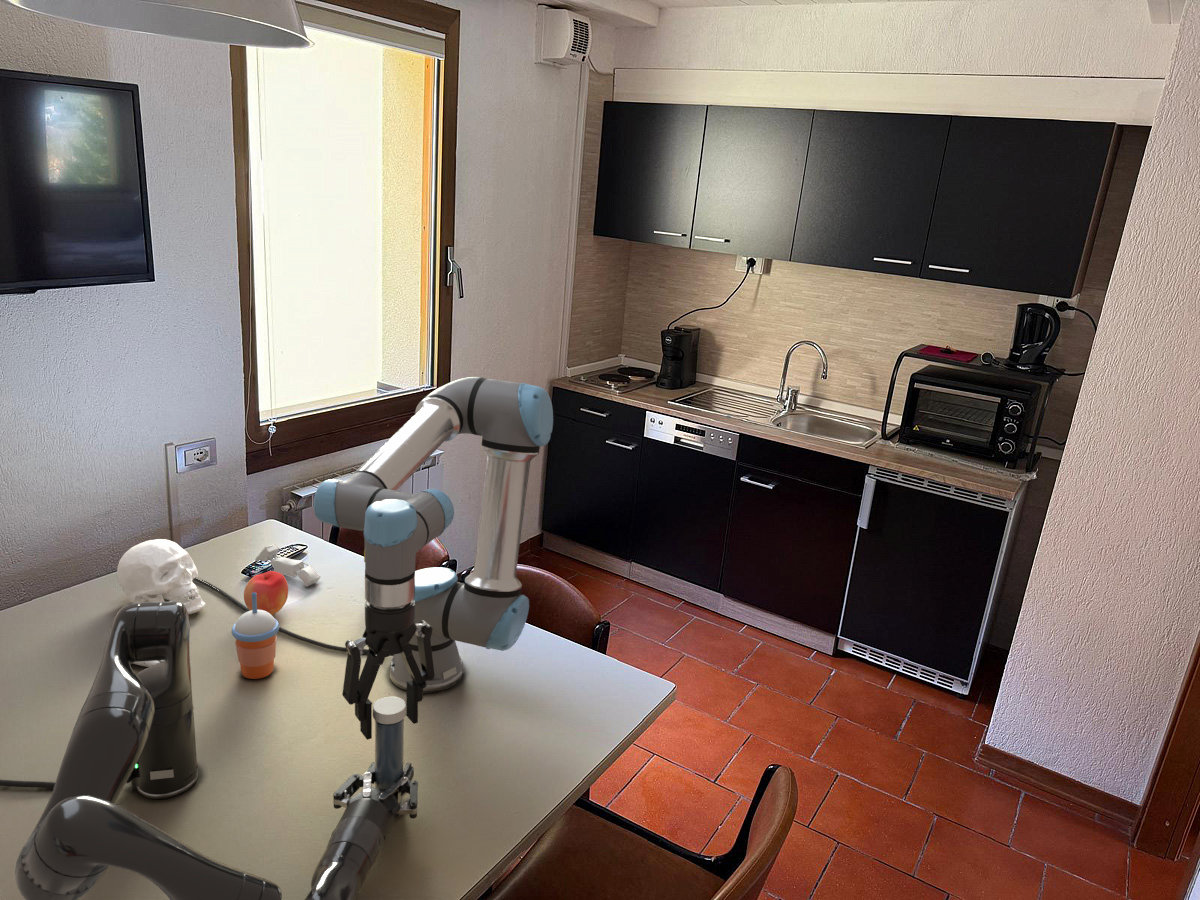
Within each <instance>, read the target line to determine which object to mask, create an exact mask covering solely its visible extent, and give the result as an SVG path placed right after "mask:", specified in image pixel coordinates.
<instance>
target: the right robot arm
mask: <svg viewBox="0 0 1200 900" xmlns="http://www.w3.org/2000/svg"><path fill="white" fill-rule="evenodd" d="M553 427H554V409H553V403H552V400H551V397H550V395H549V393H548V391H547V390H545V388H543V387H541V386H538V385H533V384H529V383H526V382H515V381H508V380H501V379H494V378H493V379H492V378H485V377H482V376H467V377H463V378H458V379H456V380H453V381H450V382H448V383H446V384H444V385H441V386H439V387H438V388H436V389H435V390H433V391H432V392H430V393H429V394H427V395H426V396H424V398H423V399H422V400H421V401H419V403H418V404H417V406H416V408H415V411H414V415H413V416H411V417H410V419H409V420H407V421H406V422H405V423H404V424H403V425H402V426H401V427H400V428H399V429H398V430H397V431H396V432H395V433H394V434H393V435H392V436H390V438H388V439H387V440H386V442H384V443H383V445H381V446H380V447H379V448H378V449H377V450H376V451H374V453H373V454H372V455H370V457H368V458H367V459H366V460H365V462H364V463H362V464H361V465H360V466H359V467H358V468H357V469H356V470H355V471H354V472H353V473H352V474H351V475H350V476H348V478H347V479H346V480H342V479H340V478H337V479H333V478H329V479H325V480H324V481H322V482H321V483H320V484H319V486H318V488H317V489H316V491H315V493H314V497H313V503H312V504H313V510H314V515H315V517H316V519H317V520H318V521H320V522H321V523H324V524H327V525H331V526H334V527H337V528H343V529H348V530H354V531H359V532H362V533H363V539H364V550H365V562H364V599H365V601H364V624H365V625H364V626H365V627H364V628H365V629H364V632H363V634H362V637H361V638H358V639H356V640H354V641H353V640H352V639H348V640H346V641H345V643H344V646H345V647H344V646H337V645H334V644H333V645H332V644H328V643H325V642H321V641H318V640H315V639H312V638H308V637H305V636H303V635H299V634H297V633H294V632H292V631H290V630H287V629H285V628H283V627H280V626H279V630H278V632H279V633H282V634H284V635H286V636H288V637H290V638H293V639H295V640H298V641H301V642H304V643H307V644H311V645H314V646H316V647H320V648H324V649H326V650H327V649H328V650H332V651H337V652H343V653H347V654H346V655H347V656H346V662H345V663H346V664H345V670H344V678H343V686H342V697H343V698H344V699H345V701H346V702H347V703H348V705H350V706H351V705H354V715H355V717H356V719H357V720H358V721H359V727H360V728H359V731H360V732H361V734H362V735H363V737H364V738H365V739H366V740H371V739H373V721H372V720H373V703H372V701H371V700H370V699H369V697H370V694H371V691H372V689H373V685H374V683H375V680H376V678H377V674H378V672H379V669H380V667H381V666H382V665H384V662H385V659H386V658H388V657H392V659H391V660H390V664H389V679H390V681H391V682H392V683H393V684H394V685H395V686H396V687H398V688H399V689H401V690H404V691H406V701H405V703H406V715H405V717H407V719H409V721H410V722H411V723H412V724H413V725H415V724H418V723H419V703H420V702H422V701H423V699H424V694H430V693H431V694H432V693H438V692H441V691H445V690H447V689H450V688H451V687H453V686H455V685H456V684H457V683H458V682H459V681H460V680H461V679H462V676H463V672H464V662H463V660H462V657H461V656H460V653H459V649H458V646H457V642H460V643H464V644H469V645H473V646H476V647H481V648H485V649H486V650H496V651H503V652H504V651H508V650H509V649H511V648H512V647H513V646H514V645H515V644H516V643H517V641H518V640H519V638H520V636H521V635H522V632H523V630H524V628H525V626H526V623H527V619H528V615H529V610H530V599H529V598H528V596H526V595H525V594H522V587H523V584H522V582H521V581H520V579H519V578H518V577H517V569H518V562H519V561H518V560H519V553H520V545H521V536H522V529H523V523H524V522H523V520H524V514H525V506H526V499H527V490H528V482H529V475H530V468H531V461H532V460H533V459H534V458H535V457H537V456H538V455H539V454H540V449H541V447H544V446H547V445H548V444H549V442H550V440H551V438H552V437H551V436H552V435H551V434H552V433H553V430H554V429H553ZM460 434H461V435H462V434H463V435H465V434H466V435H468V434H469V435H474V436H479V437H482V438H481V444H480V445H481V448H482V449H483V451H484V452H485V454H486V455H487V459H486V466H485V474H484V475H485V476H484V483H483V484H484V485H483V491H482V500H481V509H480V514H479V516H480V517H479V522H478V523H479V524H478V531H477V541H476V548H475V557H474V564H473V571H472V572H471V573H469V574H468V575H467V576H466V577H465V578H464V582H460V581H458V580H459V579H458V578H459V577H458V575H457V572H456V571H454V570H453V569H451V568H448V567H441V566H440V567H437V566H433V567H426V568H421V569H418V570H416V557H417V553H418V552H419V551H420V550H421V549H423V548H424V547H425V546H426V545H428V544H429V543H431V542H432V541H433V540H435V539H436V538H438V537H440V536H441V535H442V534H443V533H444V532H445V530H447V528H448V527H449V526H450V525H451V524H452V523H453V520H454V517H455V508H454V504H453V502H452V500H451V498H450V497H449V496H448V494H446V493H445V492H444V491H442V490H440V489H437V488H427V489H424V490H420V491H418V492H417V493H411V492H405V491H399V490H400V489H401V488H402V487H403V486H404V485H405V484H406V482H408V481H409V480H410V478H412V476H413V475H414V474H415V473H416V472H417V471H418V470H419V469H420V468H421V467H422V466H423V465H424V463H425V462H427V460H428V459H429V458H430V457H431V456H432V455H433V454H434V453H435V452H436V451H437V450H438V448H440V447H441V446H442V444H444V443H445V442H450V441H452V440H454V439H455V438H456V437H457V436H458V435H460ZM203 580H204V579H202V581H203ZM192 581H195V582H197V583H199V584H201V585H204V586H206V587H207V588H209V589H211V590H213V591H215V592H216V593H218V594H219V595H221V596H222V597H224V598H225V599H227V600H228V601H230V602H231V603H232V604H233V605H235V606H237V607H238V608H239V609H240V610H242V611H244V613H246V612H248V611H250V610H249V609H248V607H247V606H246V605H244V604H243V603H241V602H240V601H239V600H237V599H236V598H234V597H233V596H232V595H230V594H228V593H227V592H225V591H224V590H222V589H221V588H219V587H217V586H215V585H214V584H212V583H211V582H208V581H206V580H204V582H206V583H208V584H209V585H208V584H206V583H204V582H202V581H200V580H198V579H196V578H194V579H193V580H192ZM210 585H211V586H210ZM213 585H214V586H213ZM212 586H213V587H215V588H216V589H215V588H213V587H212ZM217 589H218V590H219V591H218V590H217ZM366 646H367V647H368V648H365V647H366ZM363 654H366V659H365V662H364V665H363V666H361V664H362V655H363ZM361 667H363V668H362V670H361ZM360 672H361V673H360Z"/></svg>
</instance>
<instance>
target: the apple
mask: <svg viewBox="0 0 1200 900" xmlns="http://www.w3.org/2000/svg"><path fill="white" fill-rule="evenodd" d="M254 592H255V593H256V597H257V610H264V611H266V612H268V613H270V614H271V615H272V616H273V617H274V616H275V615H276V614H278V613H279V612H280V611H281V610H282V609H283V607H284V606H285V605H286V603H287V600H288V597H289V584H288V581H287V579H286V577H285V575H282V574H281V573H278V572H275V571H268V570H267V571H266V572H264V573H259V574H255V575H254V576H253V577H251V578H250V579H249V580H248V582H247V583H246V585H245V587H244V590H243V601H244V604H245V606H246V607H247V608H248V609H249V610H252V593H254Z"/></svg>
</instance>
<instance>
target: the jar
mask: <svg viewBox="0 0 1200 900" xmlns="http://www.w3.org/2000/svg"><path fill="white" fill-rule="evenodd" d="M404 735H405V717H404V718H403V719H402V720H401V721H399V722H397V723H394V724H381V723H379V722H377V721H375V720H374V762H375V783H374V787H376V788H379V789H388V788H389V787H390V786H391V785H392V784H393V783H397V782H398V781H399V780H400V779H401V775H402V773H403V770H404V750H405V749H404V748H405V746H404V744H405V743H404V740H405V739H404V738H405V736H404ZM399 805H400V806H402V805H404V796H403V797H402V799H401V801H400V803H399Z"/></svg>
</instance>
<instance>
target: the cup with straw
mask: <svg viewBox="0 0 1200 900" xmlns="http://www.w3.org/2000/svg"><path fill="white" fill-rule="evenodd" d="M279 627H280V623H279V621H278V620H277V619H276V618H275V617H274V615H273V616H272V615H271V614H270V613H268V612H266V611H264V610H257V597H256V593H255V592H254V593H252V610H250V611H248V612H244V613H242V614H241V615H240V616H239V617H238V619H237V620H236V621H235V622H234V624H233V625H232V627H231V635H232V637H233V639H235V648H236V654H237V659H238V663H239V666H240V672H241V675H242V676H243V677H244V678H246V679H251V680H257V679H258V680H259V679H263V678H265V677H268V676H269V675H271V674H272V673H273V671H274V667H275V666H274V664H275V658H276V651H277V649H276V648H277V634H278V632H279V631H278V630H279Z"/></svg>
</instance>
